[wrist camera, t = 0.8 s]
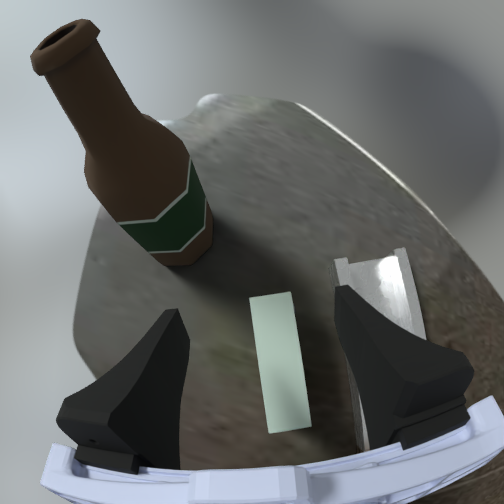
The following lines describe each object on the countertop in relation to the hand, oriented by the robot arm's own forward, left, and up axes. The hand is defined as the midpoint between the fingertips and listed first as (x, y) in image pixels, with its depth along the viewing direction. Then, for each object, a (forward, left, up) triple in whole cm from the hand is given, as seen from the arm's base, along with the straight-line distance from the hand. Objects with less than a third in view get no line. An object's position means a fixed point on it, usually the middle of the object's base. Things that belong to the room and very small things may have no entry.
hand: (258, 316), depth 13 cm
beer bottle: (+11, +7, -15) cm, 20 cm away
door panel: (-3, -1, -15) cm, 15 cm away
